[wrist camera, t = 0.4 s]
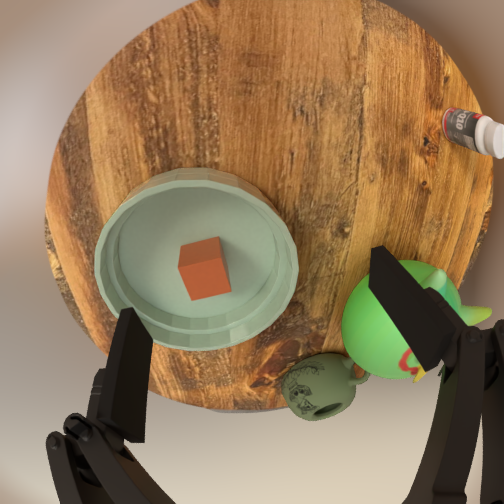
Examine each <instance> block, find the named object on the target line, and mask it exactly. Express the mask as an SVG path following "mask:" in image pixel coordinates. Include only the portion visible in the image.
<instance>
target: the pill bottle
mask: <svg viewBox="0 0 504 504" xmlns="http://www.w3.org/2000/svg"><path fill="white" fill-rule="evenodd" d="M442 127H443V131H444V134H445V136H446V138H447V139H448V140H449V141H450V142H453V143H455V144H458V145H461V146H463V147H466V148H468V149H471V150H473V151H476V152H478V153H480V154H483V155H491V156H493V157H496V158H499V159H501V158H503V157H504V125H502V124H500V123H497V122H494V121H493V120H492V119H491V118H490V117H488V116H485V115H482V114H478V113H474V112H470V111H466V110H462V109H458V108H449V109H448V110H447V111H446V112H445V113H444V116H443V120H442Z"/></svg>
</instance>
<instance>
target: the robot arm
mask: <svg viewBox="0 0 504 504" xmlns="http://www.w3.org/2000/svg"><path fill="white" fill-rule="evenodd" d="M368 288H369V289H370V290H371V292H372V293H373V294H374V296H375V297H376V299H377V300H378V301H379V303H380V304H381V306H382V307H383V309H384V310H385V311H386V313H387V314H388V316H389V317H390V319H391V320H392V322H393V323H394V325H395V326H396V328H397V329H398V331H399V332H400V334H401V335H402V337H403V338H404V340H405V341H406V343H407V344H408V346H409V347H410V349H411V350H412V352H413V353H414V355H415V357H416V358H417V360H418V361H419V363H420V365H421V366H422V368H423V370H424V371H425V372H427V371H429V370H431V369H433V368H435V367H436V366H438V364H439V362H440V360H441V359H442V360H443V361H444V365H443V367H442V368H441V370H440V372H439V374H438V376H440V375H441V373H442V377H441V383H440V390H439V395H438V400H437V405H436V410H435V414H434V418H433V422H432V427H431V430H430V434H429V438H428V441H427V445H426V448H425V451H424V454H423V457H422V460H421V464H420V466H419V469H418V472H417V474H416V477H415V480H414V482H413V485H412V487H411V490H410V492H409V494H408V496H407V498H406V499H405V500H404V502H403V503H402V504H466V502H467V496H466V494H465V492H464V489H465V486H466V482H467V479H468V475H469V472H470V468H471V465H472V461H473V457H474V452H475V448H476V442H477V437H478V432H479V426H480V419H481V413H482V429H483V467H482V482H481V494H480V504H504V320H502V319H501V320H498V321H497V322H496V323H495V325H494V327H493V328H490V329H486V330H480V329H479V328H478V327H475V326H468V325H467V324H466V323H465V322H464V321H463V320H462V318H461V317H460V316H459V315H458V314H457V312H456V311H455V310H454V309H453V308H452V307H451V305H449V303H448V302H447V301H446V300H445V299H444V297H443V296H442V295H441V294H440V293H439V292H438V291H436V290H435V289H433V288H431V287H428V288H425V289H423V287H422V286H421V285H420V284H419V283H418V282H417V281H416V280H415V279H414V277H413V276H412V275H411V274H410V273H409V272H408V271H407V270H406V269H405V268H404V267H403V266H402V265H401V264H400V262H399V261H398V260H397V259H396V258H395V257H394V256H393V255H392V254H391V253H390V252H389V251H388V250H387V249H386V248H385V247H384V246H383V245H382V246H378V247H375V248H371V259H370V272H369V283H368ZM152 347H153V338H152V337H151V335H150V334H149V332H148V331H147V329H146V328H145V326H144V324H143V323H142V321H141V320H140V318H139V316H138V315H137V313H136V311H135V310H134V308H133V307H129V308H125V309H121V311H120V315H119V318H118V321H117V325H116V329H115V332H114V336H113V340H112V344H111V348H110V352H109V356H108V360H107V365H106V368H103V369H99V370H98V372H97V374H96V375H95V377H94V382H93V388H92V390H91V396H90V400H89V405H88V410H87V416H86V418H85V417H84V416H82V415H81V414H79V413H72V414H71V415H69V416H68V417H67V418H66V420H65V422H64V426H63V429H64V433H65V434H66V435H62V434H61V433H60V432H57V431H55V432H52V433H50V434H49V435H48V437H47V439H46V449H47V455H48V460H49V464H50V469H51V472H52V477H53V481H54V484H55V488H56V491H57V495H58V498H59V501H60V504H176V503H175V502H174V501H173V500H172V499H171V498H170V497H169V496H168V495H167V494H166V493H165V492H164V491H163V490H162V489H161V488H160V487H159V485H158V484H157V483H156V482H155V481H154V480H153V479H152V478H151V476H149V474H148V473H147V472H146V471H145V469H144V468H143V467H142V466H141V464H140V463H139V462H138V461H137V459H136V458H135V457H134V456H133V454H132V453H131V452H130V450H129V449H128V448H127V447H126V446H125V445H124V439H126V440H127V441H129V442H131V443H144V442H145V422H146V406H147V393H148V382H149V372H150V363H151V355H152Z"/></svg>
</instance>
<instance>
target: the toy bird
mask: <svg viewBox="0 0 504 504" xmlns="http://www.w3.org/2000/svg"><path fill="white" fill-rule="evenodd" d="M398 261H399V262H400V264H401V265H402V266H403V267H404V268H405V269H406V270H407V271H408V272H409V273H410V274H411V275H412V276H413V277H414V279H415V280H416V281H417V282H418V283H419V284H420V285H421V286H422V287H423V289H425V288H428V287H431V288H433V289H435V290H436V291H438V292H439V293H440V294H441V295H442V296H443V297H444V299H445V300H446V301H447V302H448V303H449V305H451V307H452V308H453V309H454V310H455V311H456V312H457V314H458V315H459V316H460V317H461V318H462V320H463V321H464V322H465V323H466V324H467V325H468V326H473V325H475V324H477V323H479V322H481V321H483V320H484V319H486V318H488V317H489V316H490V315H491V313H492V310H491V309H490V308H487V307H476V306H464V305H461V300H460V296H459V293H458V291H457V289H456V287H455V286H454V284H453V283H452V281H451V280H450V279H449V278H448V277H447V275H446V272H445V271H444V270H443V269H437V268H435V267H434V266H432V265H429V264H427V263H424V262H420V261H415V260H398ZM368 283H369V274H368V275H366V276H365V277H364V278H363V279H362V280H361V281H360V282H359V283H358V285H357V286H356V287H355V288H354V290H353V291H352V293H351V295H350V296H349V298H348V300H347V303H346V305H345V308H344V311H343V316H342V323H341V333H342V339H343V343H344V346H345V348H346V350H347V352H348V354H349V356H350V357H351V358H352V359H353V361H354V362H355V363H356V364H357V365H359V366H360V367H361V368H362V369H364V370H365V371H367V372H369V373H371V374H373V375H376V376H379V377H382V378H387V379H404V378H408V377H412V376H415V375H416V376H415V378H414V380H413V383H415V382H417V381H418V380H419V379H421V378H422V377H423V376H424V375H425V374H426V373H427V372H428V371H427V372H425V371H424V370H423V368H422V366H421V365H420V363H419V361H418V360H417V358H416V357H415V355H414V353H413V352H412V350H411V349H410V347H409V346H408V344H407V343H406V341H405V340H404V338H403V337H402V335H401V334H400V332H399V331H398V329H397V328H396V326H395V325H394V323H393V322H392V320H391V319H390V317H389V316H388V314H387V313H386V311H385V310H384V309H383V307H382V306H381V304H380V303H379V301H378V300H377V299H376V297H375V296H374V294H373V293H372V292H371V290H370V289H369V288H368Z"/></svg>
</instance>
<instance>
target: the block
mask: <svg viewBox="0 0 504 504" xmlns="http://www.w3.org/2000/svg"><path fill="white" fill-rule="evenodd" d="M178 270H179V273H180V275H181V278H182V280H183V282H184V285H185V287H186V289H187V292H188V294H189V296H190V299H191V301H194V300H199V299H203V298H207V297H212V296H216V295H220V294H224V293H229V292H232V291H231V284H230V277H229V270H228V266H227V262H226V259H225V255H224V252H223V249H222V245H221V242H220V238H219V236H217V237H213V238H209V239H206V240H202V241H198V242H194V243H190V244H186V245H182V246H181V247H180V254H179V261H178Z"/></svg>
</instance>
